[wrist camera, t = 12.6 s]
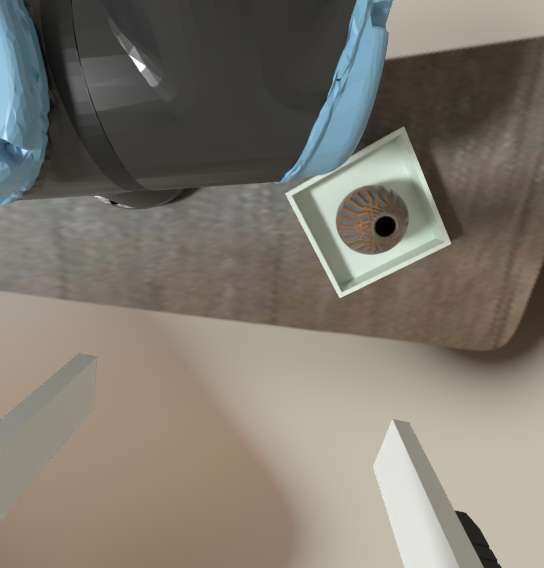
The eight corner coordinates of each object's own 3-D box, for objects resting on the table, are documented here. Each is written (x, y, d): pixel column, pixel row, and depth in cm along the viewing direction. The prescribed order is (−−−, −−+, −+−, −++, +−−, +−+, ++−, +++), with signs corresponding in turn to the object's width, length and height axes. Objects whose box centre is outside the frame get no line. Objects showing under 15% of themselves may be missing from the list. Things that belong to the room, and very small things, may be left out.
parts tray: (285, 192, 37) (285, 193, 34) (394, 131, 35) (404, 126, 32) (335, 289, 40) (339, 298, 37) (438, 239, 38) (451, 243, 35)
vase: (347, 174, 35) (366, 172, 27) (405, 198, 36) (442, 203, 28) (321, 234, 37) (332, 249, 29) (377, 256, 38) (402, 276, 29)
